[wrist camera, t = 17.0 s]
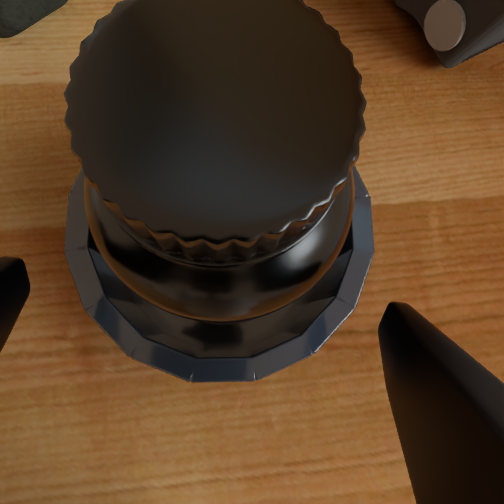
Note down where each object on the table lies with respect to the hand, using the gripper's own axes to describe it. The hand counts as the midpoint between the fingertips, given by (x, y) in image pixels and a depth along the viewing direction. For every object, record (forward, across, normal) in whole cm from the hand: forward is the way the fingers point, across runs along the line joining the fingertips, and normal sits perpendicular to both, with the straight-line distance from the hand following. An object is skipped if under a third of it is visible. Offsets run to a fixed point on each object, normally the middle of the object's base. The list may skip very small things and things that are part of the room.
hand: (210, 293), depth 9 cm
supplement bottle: (+8, 0, +4) cm, 8 cm away
